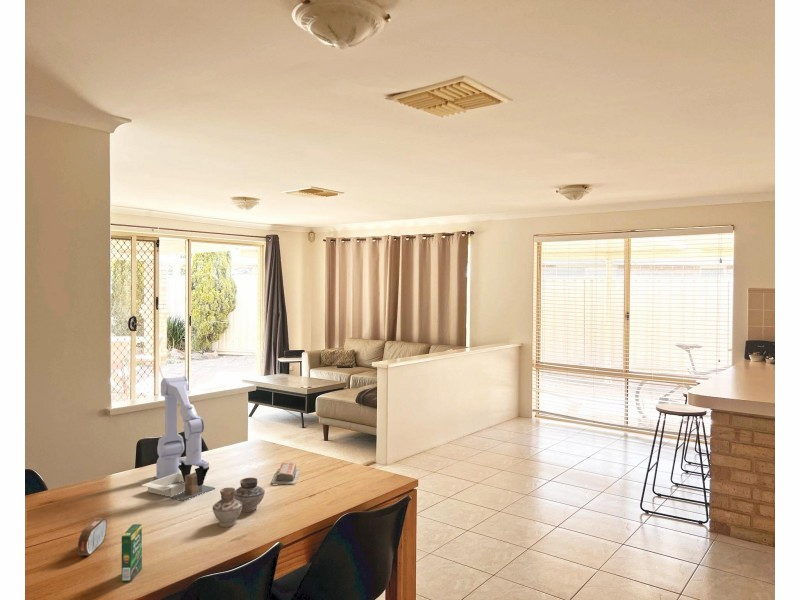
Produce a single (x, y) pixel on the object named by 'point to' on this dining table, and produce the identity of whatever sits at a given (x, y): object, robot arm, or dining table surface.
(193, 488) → the block
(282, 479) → the packaged product
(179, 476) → the carton
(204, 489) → the mat
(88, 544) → the tin
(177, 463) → the robot arm
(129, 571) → the coffee box
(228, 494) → the pottery
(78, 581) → the dining table surface
